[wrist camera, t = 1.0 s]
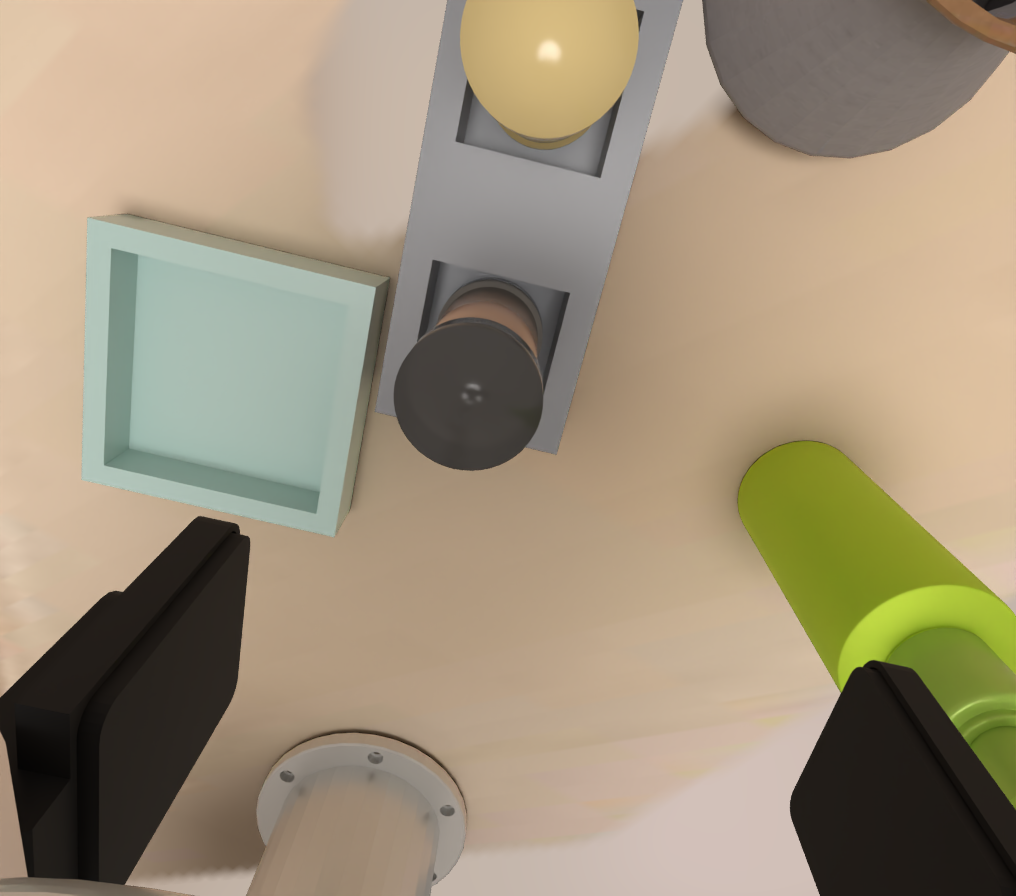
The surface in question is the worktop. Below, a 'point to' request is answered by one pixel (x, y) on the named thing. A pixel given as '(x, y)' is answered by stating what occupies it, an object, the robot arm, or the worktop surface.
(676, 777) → the worktop surface
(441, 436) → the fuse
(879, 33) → the coffee pot
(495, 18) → the fuse
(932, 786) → the robot arm
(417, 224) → the fuse holder
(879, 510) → the soap dispenser
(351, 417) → the parts tray
